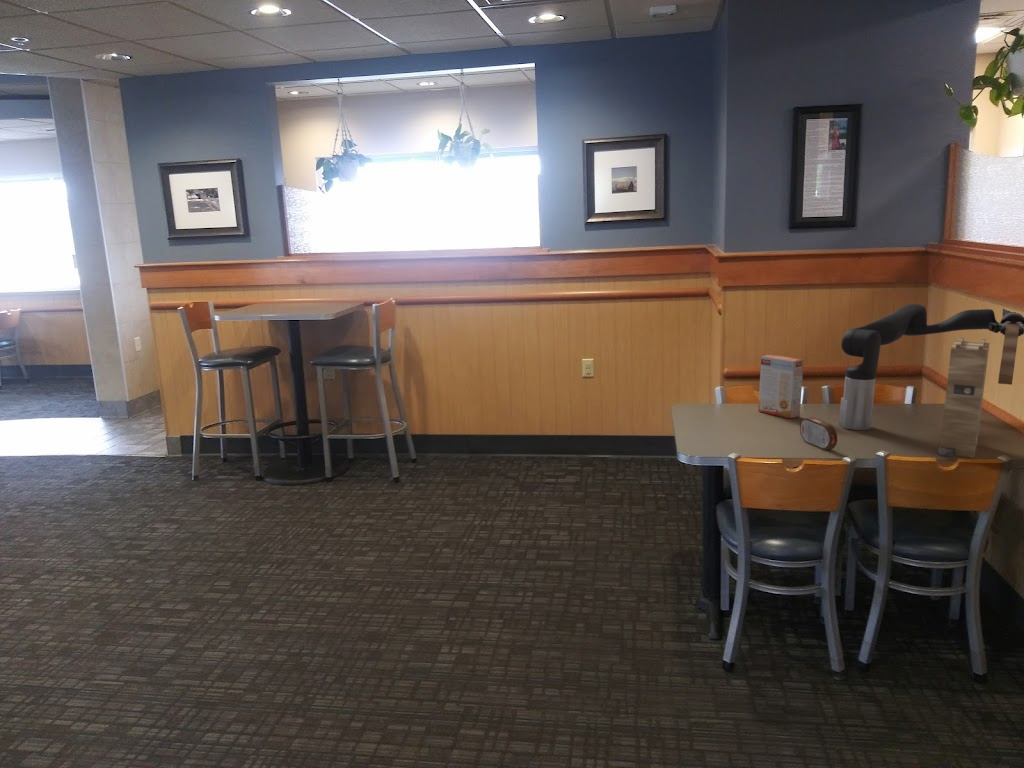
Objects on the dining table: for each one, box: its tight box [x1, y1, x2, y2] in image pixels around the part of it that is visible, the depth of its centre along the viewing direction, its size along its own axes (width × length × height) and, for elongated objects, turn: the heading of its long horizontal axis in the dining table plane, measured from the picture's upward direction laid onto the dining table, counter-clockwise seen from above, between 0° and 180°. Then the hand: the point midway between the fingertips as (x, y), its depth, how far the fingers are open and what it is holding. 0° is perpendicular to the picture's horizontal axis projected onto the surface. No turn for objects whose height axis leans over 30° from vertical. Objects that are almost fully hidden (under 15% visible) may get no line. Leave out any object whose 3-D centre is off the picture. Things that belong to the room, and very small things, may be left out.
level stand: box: [937, 336, 990, 458], centre depth 231 cm, size 22×9×33 cm, turn 147°
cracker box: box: [757, 354, 805, 419], centre depth 277 cm, size 14×6×21 cm, turn 34°
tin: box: [799, 416, 838, 451], centre depth 241 cm, size 15×3×8 cm, turn 17°
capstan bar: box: [997, 324, 1020, 385], centre depth 237 cm, size 24×4×4 cm
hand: (1012, 331), depth 241 cm, fingers closed on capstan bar, 3 cm apart
